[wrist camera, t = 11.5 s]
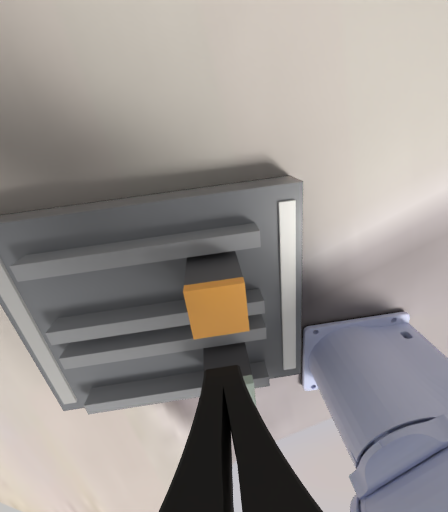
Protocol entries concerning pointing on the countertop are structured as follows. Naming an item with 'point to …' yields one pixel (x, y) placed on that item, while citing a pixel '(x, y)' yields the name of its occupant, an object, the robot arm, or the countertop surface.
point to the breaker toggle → (215, 295)
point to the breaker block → (152, 291)
